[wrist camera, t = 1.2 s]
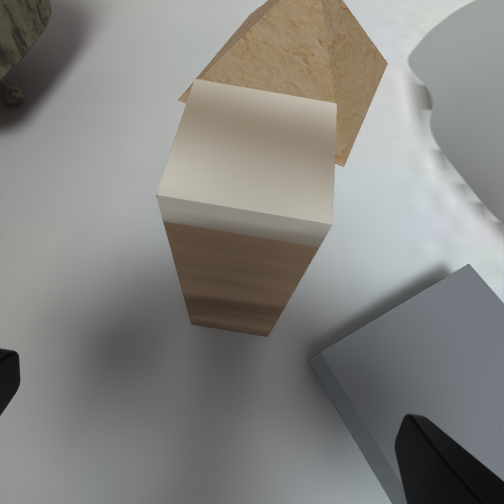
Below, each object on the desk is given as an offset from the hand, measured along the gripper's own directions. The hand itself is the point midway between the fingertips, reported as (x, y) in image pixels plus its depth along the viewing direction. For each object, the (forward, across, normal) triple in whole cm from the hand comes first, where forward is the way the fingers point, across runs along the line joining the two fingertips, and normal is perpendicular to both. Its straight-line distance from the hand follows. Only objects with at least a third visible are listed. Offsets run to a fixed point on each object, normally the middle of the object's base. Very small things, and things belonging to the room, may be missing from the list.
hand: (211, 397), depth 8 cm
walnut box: (+15, 0, +4) cm, 15 cm away
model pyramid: (+31, -2, -11) cm, 33 cm away
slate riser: (+11, -14, +8) cm, 19 cm away
